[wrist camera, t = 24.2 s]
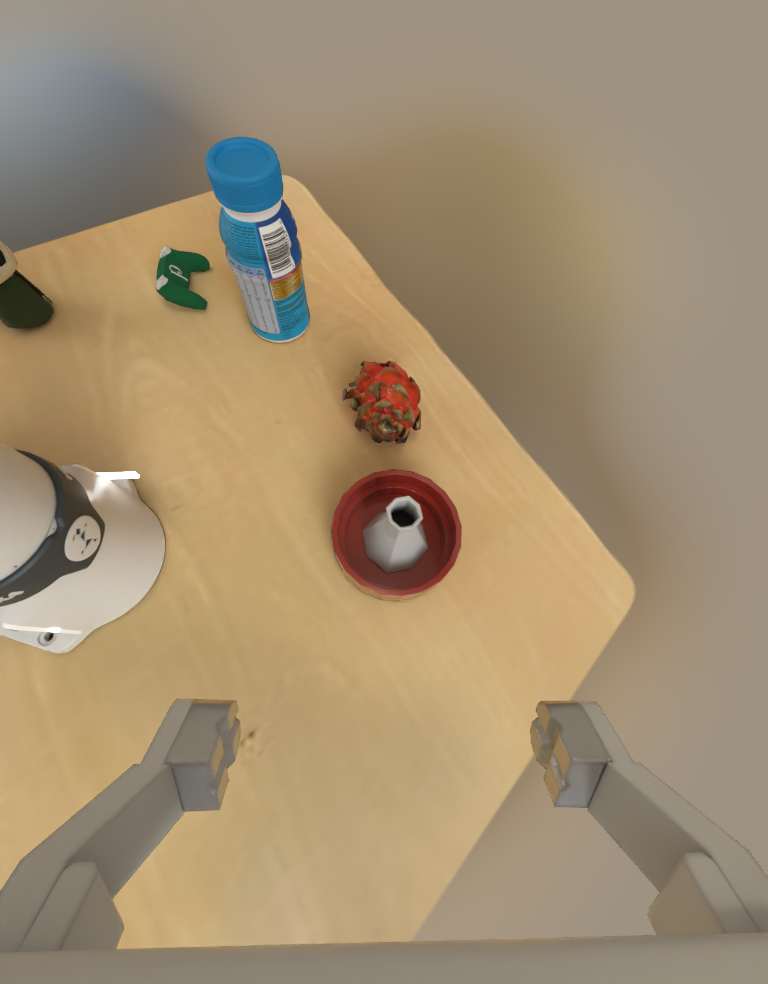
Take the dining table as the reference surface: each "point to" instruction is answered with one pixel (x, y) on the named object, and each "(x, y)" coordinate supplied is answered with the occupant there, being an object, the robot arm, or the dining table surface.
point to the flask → (396, 536)
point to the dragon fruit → (385, 401)
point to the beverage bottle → (260, 236)
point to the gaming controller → (180, 277)
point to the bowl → (374, 499)
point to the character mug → (19, 295)
